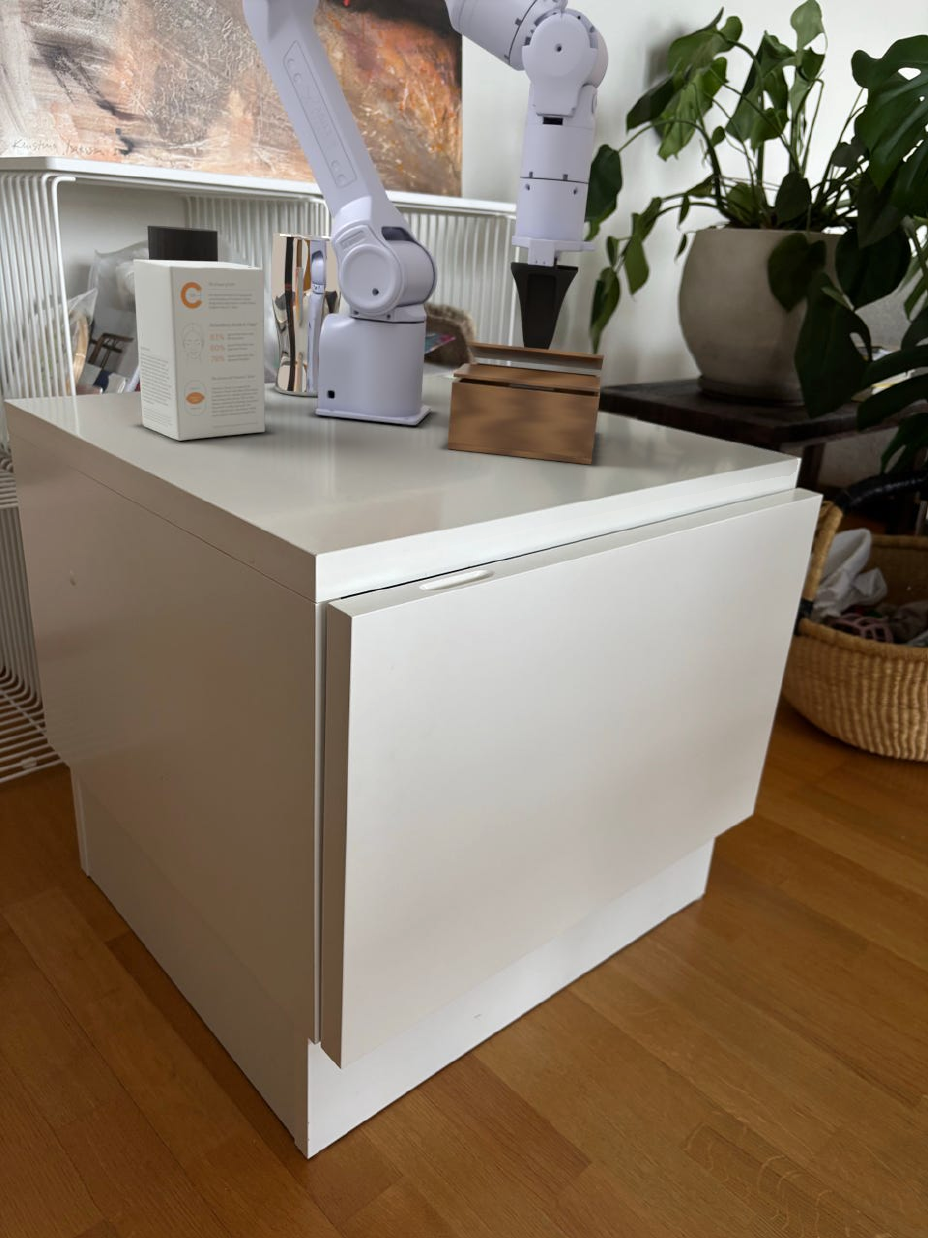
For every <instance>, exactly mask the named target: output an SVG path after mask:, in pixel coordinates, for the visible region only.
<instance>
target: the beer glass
mask: <svg viewBox="0 0 928 1238" xmlns="http://www.w3.org/2000/svg"><path fill="white" fill-rule="evenodd" d="M270 260H271V261H270V296H271V303H272V304H271V305H272V311H273V312H272V313H273V318H274V324H275V329H276V335H277V337H276V338H277V343H278V366H277V372H276V377H275V383H274V390H275V391H276V392H277V393H280V394H283V395H284V394H285V395H290V396H298V397H318V372H319V341H320V333H321V328H322V324H323V321H324V319H325V317H326V316H327V315H328V314H340V306H341V299H342V294H341V292H340V289H339V286H338V279H337V260H336V256H335V254H334V251H333V249H332V246H331V244H330V236H326V235H318V234H317V235H315V234H303V233H289V232H273V233H272V247H271V259H270Z"/></svg>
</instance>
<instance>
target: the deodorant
mask: <svg viewBox="0 0 928 1238" xmlns="http://www.w3.org/2000/svg"><path fill="white" fill-rule="evenodd" d="M146 227H147V248H148V249H147V250H148V260H169V261H205V262H219V239H218V231H217V230H212V229H204V228H193V227H180V226H168V225H167V226H165V225H146Z"/></svg>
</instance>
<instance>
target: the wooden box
mask: <svg viewBox="0 0 928 1238" xmlns="http://www.w3.org/2000/svg"><path fill="white" fill-rule="evenodd" d="M452 376H453V378H455V379H454V380H453V381H452V382H451V393H450V394H451V395H450V408H449V421H448V434H447V449H448V450H456V451H465V452H473V453H483V454H490V455H492V454H493V455H500V456H509V457H519V458H528V459H537V460H544V461H554V462H562V463H571V464H572V463H573V464H579V465H580V464H582V465H592V460H593V459H592V458H593V451H594V443H595V436H596V429H597V421H598V413H599V406H600V400H601V399H600V398H601V385H602V375H601V374H594V373H587V372H586V373H585V372H575V371H567V370H555V369H546V368H536V367H527V366H519V365H508V364H498V363H497V364H496V363H489V362H488V363H487V362H477V361H473V362H471V363H464V364H462V365H461V366H460V367H459V368H458V369H457V370H456V371H454V372H453V375H452ZM510 383H516V384H526V385H535V386H545V387H554V388H555V392H551V391H541V390H531V389H522V388H512V387H508V386H509V385H510Z"/></svg>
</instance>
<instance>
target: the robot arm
mask: <svg viewBox="0 0 928 1238" xmlns="http://www.w3.org/2000/svg"><path fill="white" fill-rule="evenodd" d="M241 1H242V13H243V16H244V20H245V23H246V25H247V27H248V30H249V32H250V34H251V37H252V39H253V41H254V44H255V46H256V48H257V51H258V53H259V54H260V57H261V59H262V62H263V64H264V66H265V69H266V70H267V73H268V75H269V78H270V80H271V82H272V84H273V86H274V88H275V91H276V93H277V95H278V98H279V100H280V102H281V104H282V107H283V110H284V112H285V113H286V116H287V118H288V120H289V123H290V125H291V128H292V129H293V133H294V134H295V136H296V138H297V141H298V143H299V145H300V147H301V150H302V152H303V154H304V156H305V159H306V161H307V163H308V166H309V168H310V170H311V173H312V175H313V177H314V179H315V182H316V184H317V186H318V188H319V190H320V194H321V195H322V197H323V199H324V201H325V204H326V206H327V208H328V210H329V213H330V215H331V218H332V221H333V222H332V227H331V232H330V236H329V237H330V244H331V246H332V249H333V251H334V254H335V256H336V260H337V279H338V286H339V289H340V292H341V297H342V298H343V299H344V301H345V303H346V304H348V305H347V311H346V312H347V313H346V314H345V313H344V314H343V313H339V314H328V315H327V316H326V317H325V319H324V321H323V324H322V328H321V333H320V341H319V372H318V396H317V408H316V409H315V414H316V415H317V416H325V417H326V416H327V417H334V418H335V417H336V418H344V419H345V418H346V419H353V420H354V419H355V420H361V421H362V420H363V421H370V422H371V421H372V422H380V423H382V422H383V423H390V424H398V425H400V424H401V425H408V426H417V425H418V424H419V423H420V422H421V421H422V420H423V419H424V418H425V417H426V416H427V415H428V414H429V413H430V412H431V406H429V405H423V404H422V398H423V397H422V396H423V383H424V382H423V381H424V364H425V348H426V333H427V321H426V320H427V318H428V317H427V316H428V315H427V313H426V311H425V304H426V303H427V302H428V301H429V300H430V299H431V297H432V296H433V295H434V292H435V290H436V288H437V285H438V275H439V274H438V267H437V263H436V261H435V258H434V256H433V255H432V253H431V251H430V250H429V249H428V248H427V247H426V246H425V245H424V244H423V243H422V242H420V241H419V240H418V239H417V238H416V236H415V235H414V233H413V231H412V229H411V227H410V225H409V222H408V221H407V219H406V218H405V217H404V215H403V214H402V213H401V212H400V211H399V209H398V208H397V207H396V206H395V204H394V203H393V202H392V201H391V199H389V197H388V194H387V191H386V189H385V187H384V185H383V182H382V180H381V178H380V175H379V174H378V170H377V169H376V166H375V163H374V161H373V159H372V157H371V155H370V152H369V150H368V147H367V145H366V143H365V141H364V138H363V136H362V134H361V131H360V129H359V127H358V124H357V121H356V119H355V117H354V114H353V112H352V110H351V107H350V105H349V103H348V101H347V98H346V96H345V94H344V92H343V89H342V87H341V84H340V82H339V79H338V77H337V75H336V72H335V70H334V67H333V65H332V63H331V60H330V58H329V57H328V54H327V51H326V50H325V46H324V45H323V42H322V40H321V38H320V35H319V33H318V31H317V28H316V26H315V24H314V18H315V14H316V11H317V9H318V6H319V3H320V1H321V0H241ZM444 2H445V5H446V8H447V12H448V17H449V21H450V24H451V27H452V28H453V30H454V31H456V32H458V34H461V35H462V36H463V37H465V38H466V39H467V40H469V41H471V42H472V43H474V44H476V45H477V46H478V47H480V48H482V49H483V50H484V51H486V52H487V53H489V54H490V55H492V56H494V58H497V59H498V60H500V61H501V62H503V63H504V64H506V65H507V66H509V67H510V68H511V69H513V70H515V71H518V72H521V71H524V72H525V74H526V76H527V78H528V79H529V81H530V82H529V89H528V99H527V100H528V102H527V113H526V116H525V120H524V131H523V141H522V153H521V164H520V174H519V184H518V195H517V204H516V205H517V208H516V217H515V227H514V235H511V244H510V245H511V246H512V247H517V248H522V249H527V250H528V255H527V262H518V261H512V262H510V271H511V274H512V277H513V280H514V282H515V286H516V291H517V294H518V299H519V306H520V319H521V335H522V336H521V337H522V343H523V347H527V348H537V349H547V350H550V347H551V345H552V342H553V340H554V339H553V338H554V336H555V335H554V334H555V332H556V329H557V328H556V327H557V325H558V320H559V316H560V312H561V309H562V306H563V304H564V301H565V298H566V294H567V293H568V291H569V288H570V286H571V285H572V283H573V282H574V280H575V277H576V276H577V274H578V273H579V266H575V265H567V264H558V262H561V261H562V258H563V252H567V253H568V252H571V253H572V252H573V253H583V252H584V251H586V252H589V251H590V252H594V251H595V250H596V242H593V241H583V233H584V225H585V216H586V208H587V199H588V192H589V183H590V175H591V167H592V157H593V150H594V141H595V133H596V132H595V131H596V121H595V118H596V109H597V106H598V91H599V90H598V88H599V87H600V86H601V84H602V83H603V81H604V79H605V76H606V75H607V72H608V71H607V70H608V67H609V52H608V51H609V50H608V47H607V43H606V40H605V38H604V36H603V35H602V33H601V31H599V29H597V27H596V26H595V25H594V24H593V22H592V21H591V20H590V19H589V18H588V16H586V15H585V14H584V13H582V12H581V11H578V10H577V9H574V8H570V7H569V8H568V7H567V6H568V4H569V0H444Z"/></svg>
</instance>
